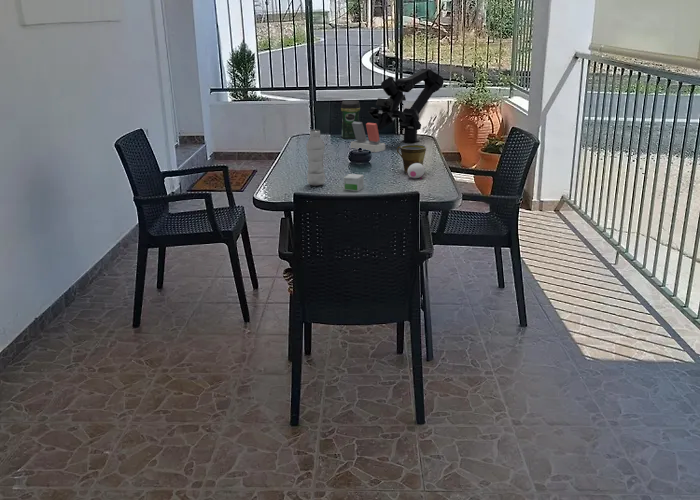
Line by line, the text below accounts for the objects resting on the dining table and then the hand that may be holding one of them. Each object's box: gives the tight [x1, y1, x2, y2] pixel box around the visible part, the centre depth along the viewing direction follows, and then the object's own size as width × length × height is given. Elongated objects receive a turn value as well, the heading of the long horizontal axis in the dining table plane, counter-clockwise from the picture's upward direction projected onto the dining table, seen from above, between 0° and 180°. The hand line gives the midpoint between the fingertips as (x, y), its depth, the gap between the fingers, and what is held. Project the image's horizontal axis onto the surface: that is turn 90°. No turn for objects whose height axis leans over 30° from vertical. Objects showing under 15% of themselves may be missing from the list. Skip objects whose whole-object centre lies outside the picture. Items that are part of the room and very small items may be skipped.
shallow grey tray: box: [350, 140, 386, 153], centre depth 298 cm, size 7×15×3 cm, turn 47°
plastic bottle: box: [306, 129, 326, 187], centre depth 234 cm, size 6×7×20 cm
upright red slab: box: [365, 122, 381, 144], centre depth 292 cm, size 2×5×9 cm, turn 47°
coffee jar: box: [340, 99, 361, 140], centre depth 323 cm, size 10×8×19 cm
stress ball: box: [406, 163, 426, 180], centre depth 245 cm, size 8×8×7 cm
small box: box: [343, 173, 365, 192], centre depth 231 cm, size 6×6×5 cm
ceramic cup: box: [396, 143, 427, 174], centre depth 254 cm, size 13×10×10 cm
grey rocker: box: [352, 121, 368, 142], centre depth 297 cm, size 2×5×9 cm, turn 47°
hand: (378, 129), depth 295 cm, fingers closed
